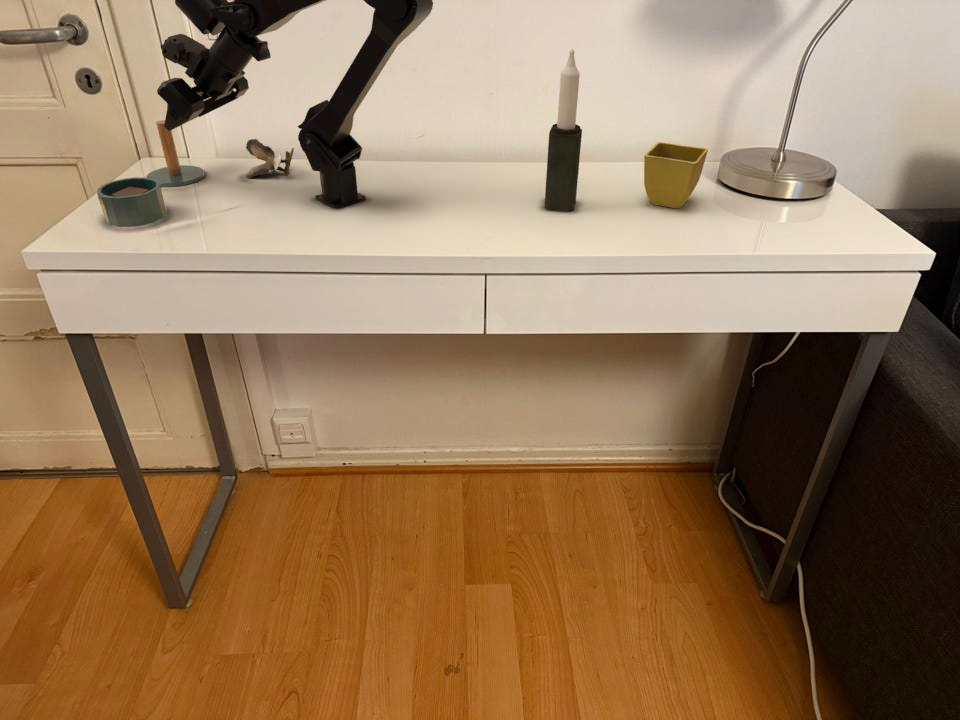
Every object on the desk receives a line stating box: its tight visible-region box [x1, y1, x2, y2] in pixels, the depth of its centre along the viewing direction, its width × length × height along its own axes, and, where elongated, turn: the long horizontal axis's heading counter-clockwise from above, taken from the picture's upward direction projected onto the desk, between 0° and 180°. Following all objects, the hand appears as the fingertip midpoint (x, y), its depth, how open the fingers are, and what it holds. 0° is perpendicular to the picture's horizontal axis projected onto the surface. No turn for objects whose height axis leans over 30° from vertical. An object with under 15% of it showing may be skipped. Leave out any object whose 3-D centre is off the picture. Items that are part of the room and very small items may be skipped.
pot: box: [96, 176, 168, 228], centre depth 112 cm, size 9×9×5 cm
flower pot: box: [643, 141, 709, 209], centre depth 119 cm, size 9×9×9 cm
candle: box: [544, 48, 583, 213], centre depth 113 cm, size 5×5×25 cm
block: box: [111, 187, 149, 197], centre depth 112 cm, size 4×4×4 cm
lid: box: [145, 119, 206, 188], centre depth 125 cm, size 10×10×11 cm
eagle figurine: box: [245, 138, 295, 179], centre depth 129 cm, size 8×7×9 cm
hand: (182, 121), depth 121 cm, fingers open, 9 cm apart
